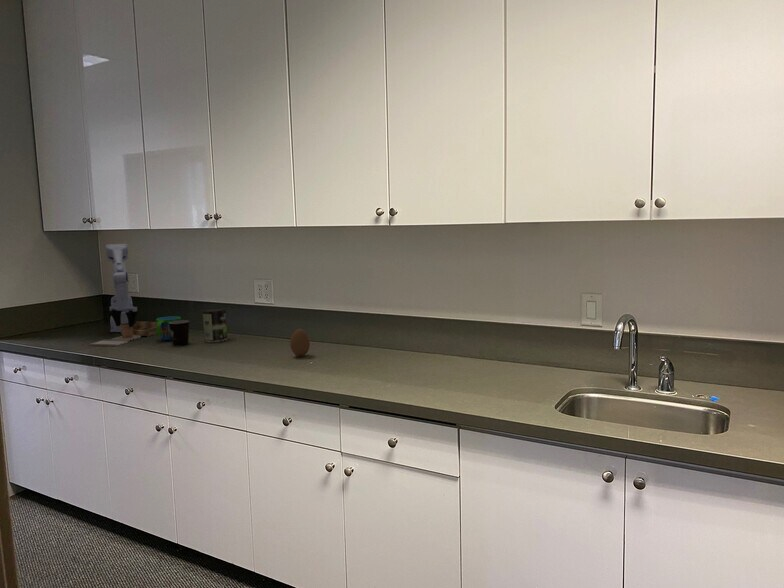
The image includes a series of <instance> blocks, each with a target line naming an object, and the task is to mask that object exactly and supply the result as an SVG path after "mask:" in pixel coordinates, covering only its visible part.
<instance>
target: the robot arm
mask: <svg viewBox="0 0 784 588" xmlns="http://www.w3.org/2000/svg"><path fill="white" fill-rule="evenodd" d="M128 248H129V247H128V244H127V243H112V244H111V243H110V244H108V243H107V244H106V245H105V253H106V259H107V261H108V262H111V263H112V283H113V287H114V293H115V294H114V296H112V297H111V299H110V306H109V314H110V319H109V321H110V323H109V324H110V331H109V332H110V333H111V332H112V333H121V329H122V328H121V327H120V324H123V323H128V324H129V327H132V326H134V325H135V320H136V317H137V314H138V306H133V298H132V297H131V296H130V294H129V293H130V292H129V274H128V270H127V266H126V263H125V261H128V259H129V249H128Z"/></svg>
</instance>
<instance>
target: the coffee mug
mask: <svg viewBox="0 0 784 588" xmlns="http://www.w3.org/2000/svg"><path fill="white" fill-rule="evenodd" d="M169 327H170V332H171V337H172V340H171V341H172V342H171V343H172V346H174V345H181V346H185V345H184V344H187V345H188V344H189V338H190V337H189V336H190V334H189V333H190V332H189V331H190V320H183V319H181V320H180V321H172V322H169Z"/></svg>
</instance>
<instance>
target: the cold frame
mask: <svg viewBox="0 0 784 588" xmlns="http://www.w3.org/2000/svg"><path fill="white" fill-rule="evenodd" d="M156 329H157V322H156V321H139V320H137V321H135V322H134V326H133V335H138V336H147V337H146V338H149V337H148V336H150V337H152V336H151V335H153V336H156V335H155V334H157V333H156ZM121 335H122V329H121V332H120V336H121Z"/></svg>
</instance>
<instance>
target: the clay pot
mask: <svg viewBox="0 0 784 588" xmlns="http://www.w3.org/2000/svg"><path fill="white" fill-rule="evenodd" d="M120 327H121V328H122V338H129V337H133V326H132V327H129V324H128V323H123V324H120Z"/></svg>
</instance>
